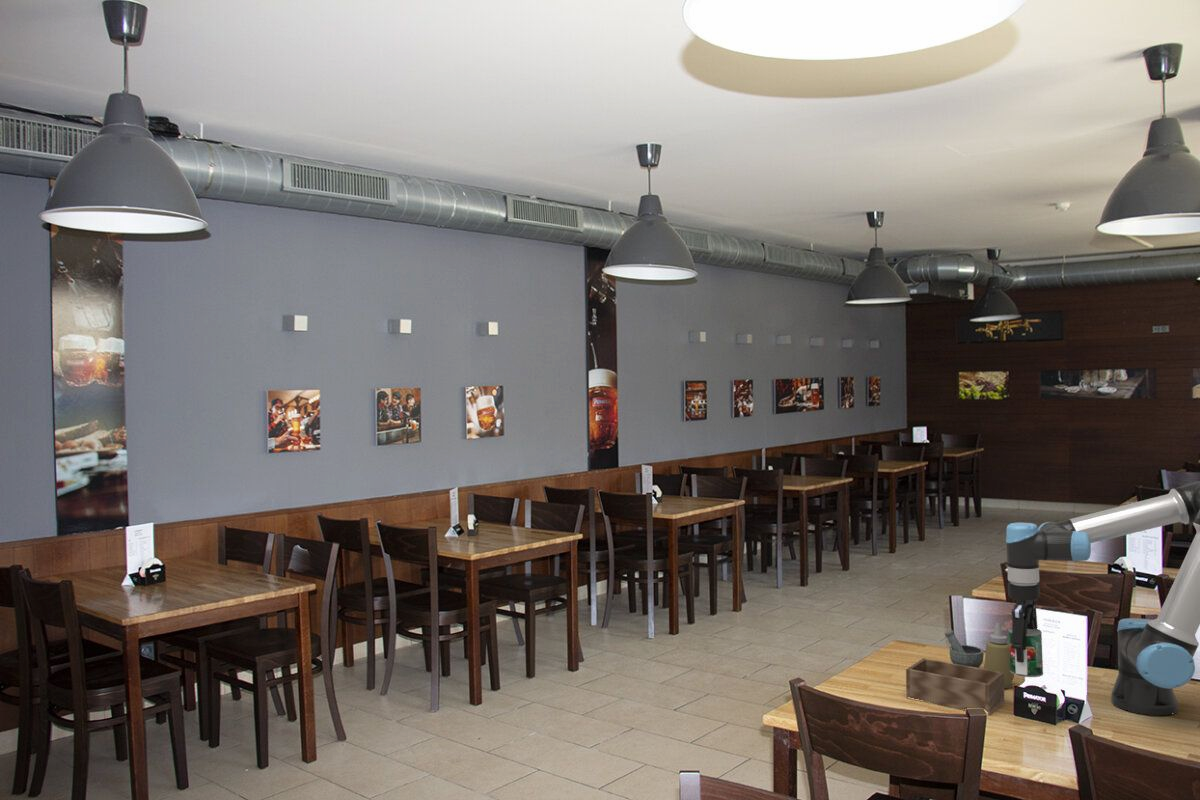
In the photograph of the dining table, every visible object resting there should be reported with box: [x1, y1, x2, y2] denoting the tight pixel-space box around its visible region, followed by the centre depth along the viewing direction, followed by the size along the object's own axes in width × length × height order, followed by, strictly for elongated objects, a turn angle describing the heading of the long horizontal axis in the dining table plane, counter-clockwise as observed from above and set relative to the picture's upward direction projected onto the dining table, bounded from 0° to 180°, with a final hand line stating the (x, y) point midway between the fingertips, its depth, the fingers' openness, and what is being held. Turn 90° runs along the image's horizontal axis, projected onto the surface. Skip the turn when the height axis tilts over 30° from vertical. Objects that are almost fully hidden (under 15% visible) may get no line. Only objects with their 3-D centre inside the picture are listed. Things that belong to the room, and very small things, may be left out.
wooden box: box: [905, 657, 1005, 717], centre depth 246 cm, size 22×13×8 cm, turn 50°
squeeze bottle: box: [983, 622, 1015, 690], centre depth 257 cm, size 8×8×18 cm
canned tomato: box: [1007, 627, 1044, 678], centre depth 234 cm, size 8×8×11 cm
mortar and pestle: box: [944, 629, 985, 668], centre depth 270 cm, size 11×9×12 cm
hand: (1026, 669), depth 235 cm, fingers closed on canned tomato, 8 cm apart
